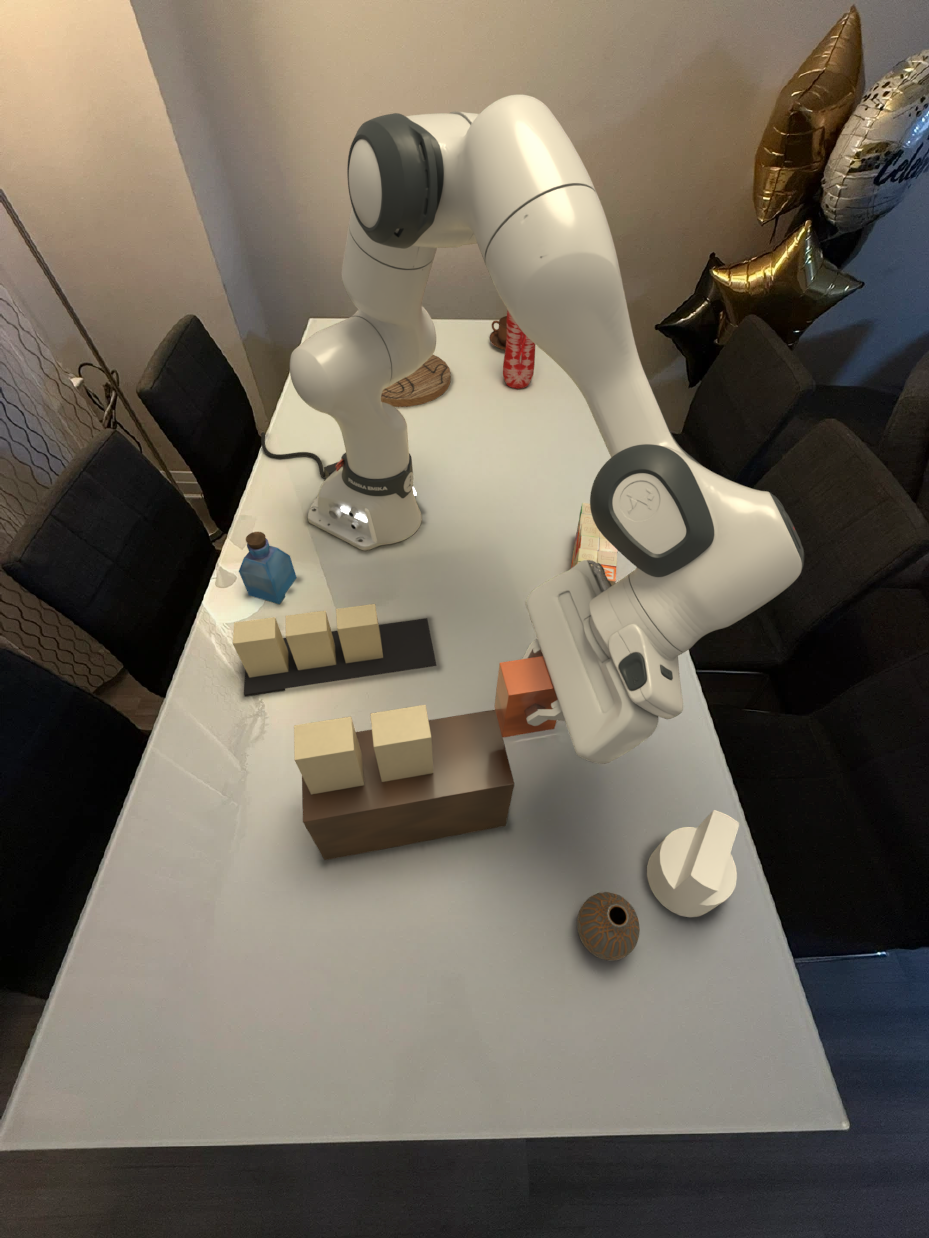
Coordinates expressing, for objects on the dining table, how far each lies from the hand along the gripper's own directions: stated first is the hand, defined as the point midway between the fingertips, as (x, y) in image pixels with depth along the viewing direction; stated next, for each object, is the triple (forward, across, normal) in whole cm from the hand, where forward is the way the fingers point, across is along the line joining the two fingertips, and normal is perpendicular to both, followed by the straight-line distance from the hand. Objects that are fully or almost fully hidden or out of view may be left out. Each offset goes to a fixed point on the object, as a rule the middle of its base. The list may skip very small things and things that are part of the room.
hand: (522, 697), depth 62 cm
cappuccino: (-31, -138, +66) cm, 157 cm away
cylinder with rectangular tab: (+4, +16, +31) cm, 35 cm away
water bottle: (-2, -106, +38) cm, 112 cm away
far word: (+32, -27, +2) cm, 42 cm away
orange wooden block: (+3, 0, +4) cm, 5 cm away
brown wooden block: (+27, 0, +8) cm, 28 cm away
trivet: (+18, -111, +17) cm, 113 cm away
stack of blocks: (+1, -36, +34) cm, 49 cm away
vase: (+12, +20, +23) cm, 32 cm away
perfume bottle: (+40, -44, -5) cm, 60 cm away
